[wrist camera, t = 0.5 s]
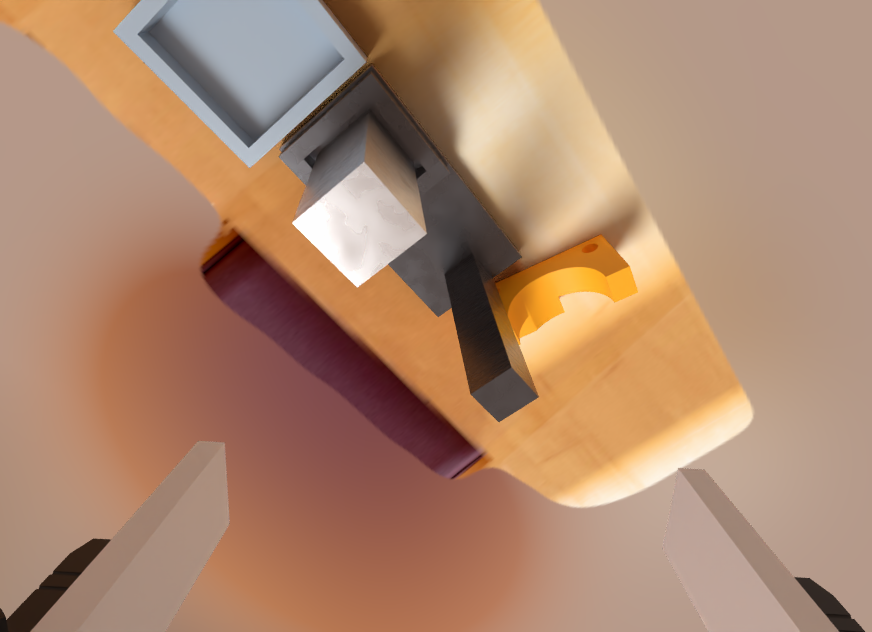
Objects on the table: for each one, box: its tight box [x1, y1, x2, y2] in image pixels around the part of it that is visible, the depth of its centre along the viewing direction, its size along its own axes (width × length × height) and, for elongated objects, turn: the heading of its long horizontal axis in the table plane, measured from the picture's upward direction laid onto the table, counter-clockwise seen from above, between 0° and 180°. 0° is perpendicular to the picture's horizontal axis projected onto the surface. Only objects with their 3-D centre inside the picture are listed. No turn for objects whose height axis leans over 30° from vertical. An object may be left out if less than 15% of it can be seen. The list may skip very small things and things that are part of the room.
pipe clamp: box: [495, 235, 638, 345], centre depth 47 cm, size 12×4×6 cm, turn 116°
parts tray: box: [113, 0, 367, 168], centre depth 36 cm, size 11×11×3 cm
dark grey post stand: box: [279, 64, 539, 422], centre depth 37 cm, size 19×9×17 cm, turn 39°
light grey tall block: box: [292, 108, 427, 287], centre depth 35 cm, size 5×5×14 cm
